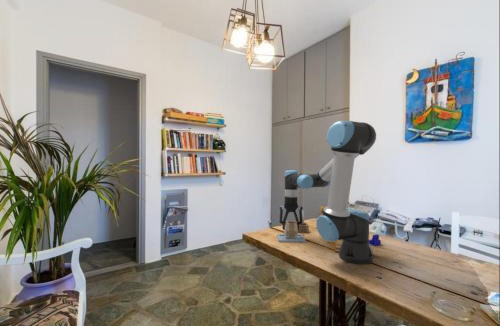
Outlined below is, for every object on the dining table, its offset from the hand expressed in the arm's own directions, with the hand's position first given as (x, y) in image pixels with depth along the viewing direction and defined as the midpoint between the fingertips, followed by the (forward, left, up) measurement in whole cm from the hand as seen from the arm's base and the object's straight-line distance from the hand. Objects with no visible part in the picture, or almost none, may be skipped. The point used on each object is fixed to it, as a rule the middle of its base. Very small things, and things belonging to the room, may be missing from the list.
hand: (290, 235), depth 142 cm
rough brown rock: (+19, -29, -3) cm, 35 cm away
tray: (0, 0, -2) cm, 2 cm away
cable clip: (-5, -44, -3) cm, 44 cm away
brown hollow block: (+15, -10, -2) cm, 18 cm away
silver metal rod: (+15, -10, -2) cm, 18 cm away
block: (0, 0, 0) cm, 0 cm away
